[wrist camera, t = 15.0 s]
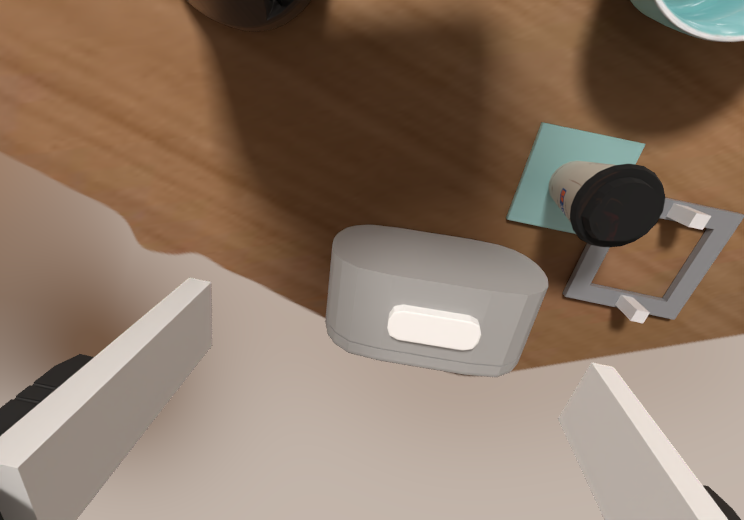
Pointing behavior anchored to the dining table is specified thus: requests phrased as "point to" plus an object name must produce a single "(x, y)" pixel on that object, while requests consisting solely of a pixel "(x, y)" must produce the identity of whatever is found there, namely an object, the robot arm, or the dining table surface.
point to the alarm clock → (431, 299)
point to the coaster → (548, 156)
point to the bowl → (698, 17)
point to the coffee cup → (608, 200)
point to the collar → (685, 282)
